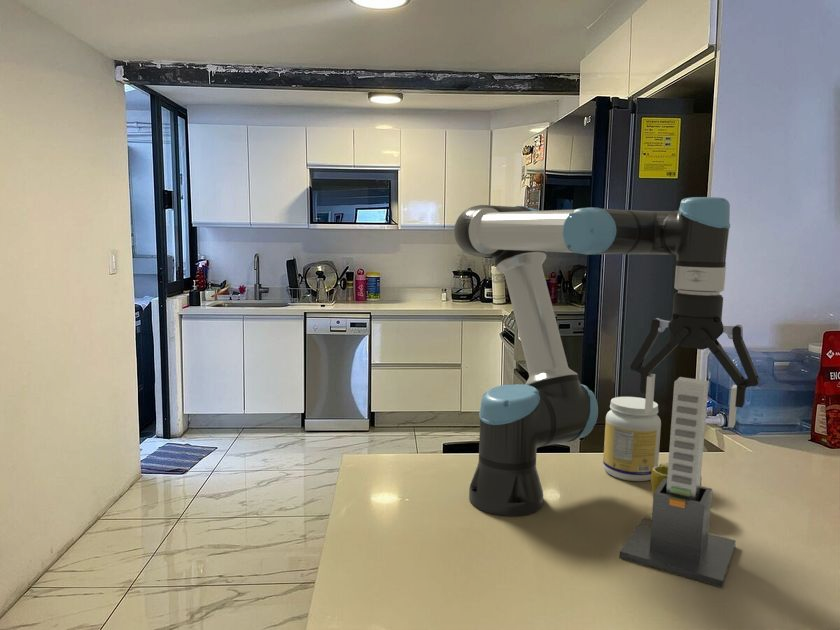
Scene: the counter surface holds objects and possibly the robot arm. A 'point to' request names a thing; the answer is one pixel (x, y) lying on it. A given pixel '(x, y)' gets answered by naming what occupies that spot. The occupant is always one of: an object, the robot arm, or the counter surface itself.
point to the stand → (680, 539)
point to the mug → (659, 475)
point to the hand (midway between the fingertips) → (688, 418)
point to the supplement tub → (631, 439)
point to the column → (687, 438)
